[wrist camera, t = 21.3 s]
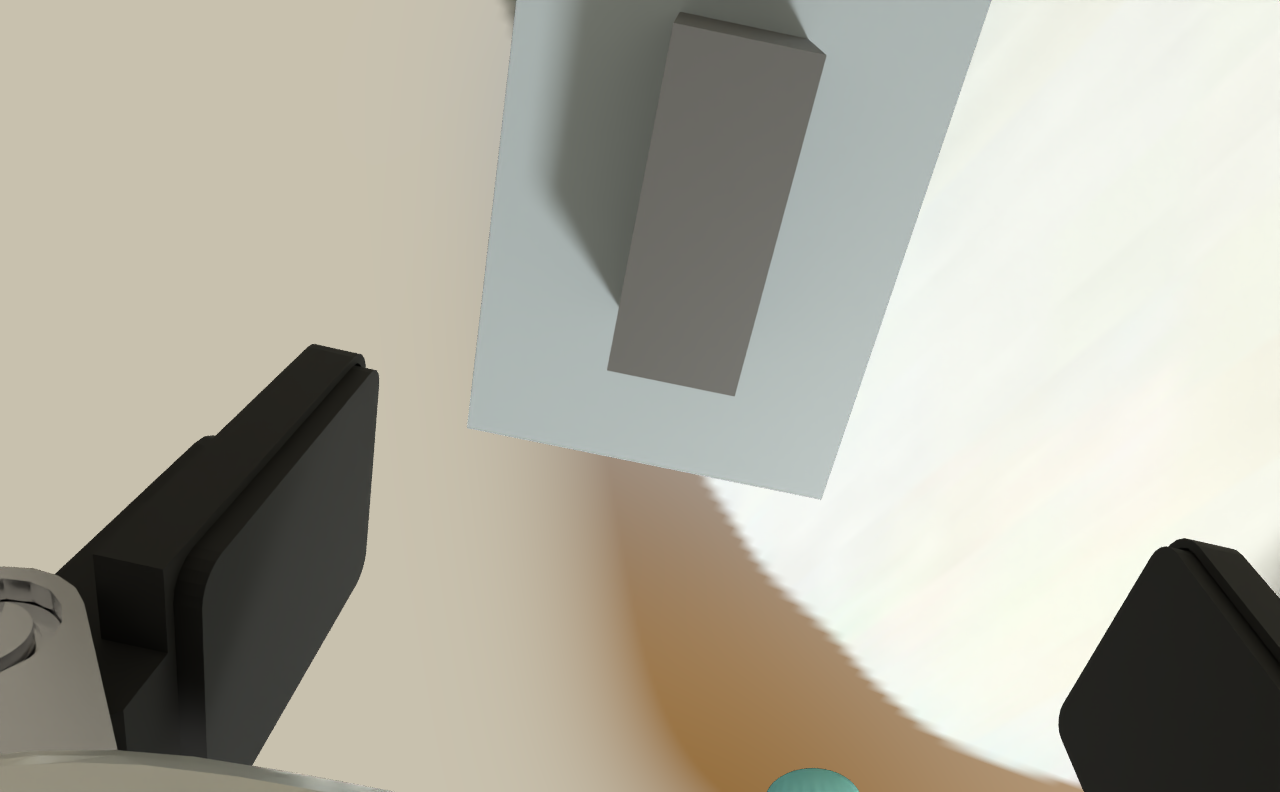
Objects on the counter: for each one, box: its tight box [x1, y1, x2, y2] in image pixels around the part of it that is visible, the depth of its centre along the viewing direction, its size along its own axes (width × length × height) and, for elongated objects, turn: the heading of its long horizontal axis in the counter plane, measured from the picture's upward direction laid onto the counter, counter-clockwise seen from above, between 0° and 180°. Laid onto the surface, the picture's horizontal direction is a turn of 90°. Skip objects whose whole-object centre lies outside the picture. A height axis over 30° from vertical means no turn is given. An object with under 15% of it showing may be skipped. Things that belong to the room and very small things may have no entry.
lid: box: [467, 0, 991, 500], centre depth 28 cm, size 22×14×7 cm, turn 169°
